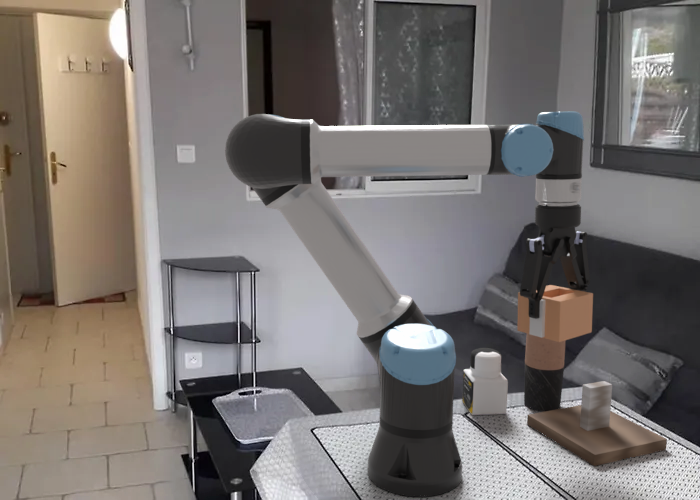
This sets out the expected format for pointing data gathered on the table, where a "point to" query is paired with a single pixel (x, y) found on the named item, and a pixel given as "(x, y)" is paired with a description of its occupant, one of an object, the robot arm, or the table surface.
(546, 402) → the travel mug
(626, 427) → the stand
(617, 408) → the table surface
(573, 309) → the tan cube with window
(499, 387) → the medicine bottle
